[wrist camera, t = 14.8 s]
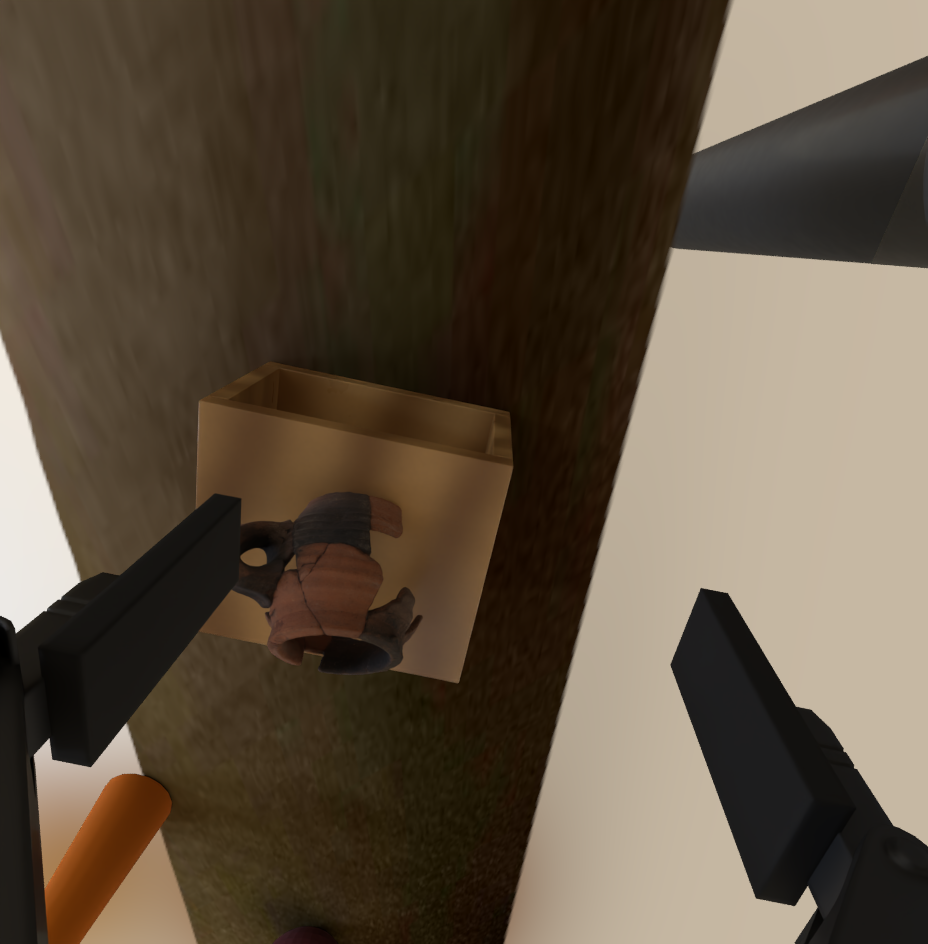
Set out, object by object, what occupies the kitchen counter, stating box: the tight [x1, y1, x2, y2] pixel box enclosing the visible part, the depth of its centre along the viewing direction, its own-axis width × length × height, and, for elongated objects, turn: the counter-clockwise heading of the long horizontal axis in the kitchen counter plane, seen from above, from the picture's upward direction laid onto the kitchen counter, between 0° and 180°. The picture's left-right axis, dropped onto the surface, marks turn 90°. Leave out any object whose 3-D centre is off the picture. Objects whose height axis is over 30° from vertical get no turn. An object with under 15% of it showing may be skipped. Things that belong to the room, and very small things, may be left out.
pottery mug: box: [232, 492, 423, 675], centre depth 34 cm, size 12×10×8 cm
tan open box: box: [196, 362, 513, 683], centre depth 41 cm, size 18×16×11 cm
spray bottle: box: [44, 774, 172, 944], centre depth 48 cm, size 7×11×26 cm, turn 17°
